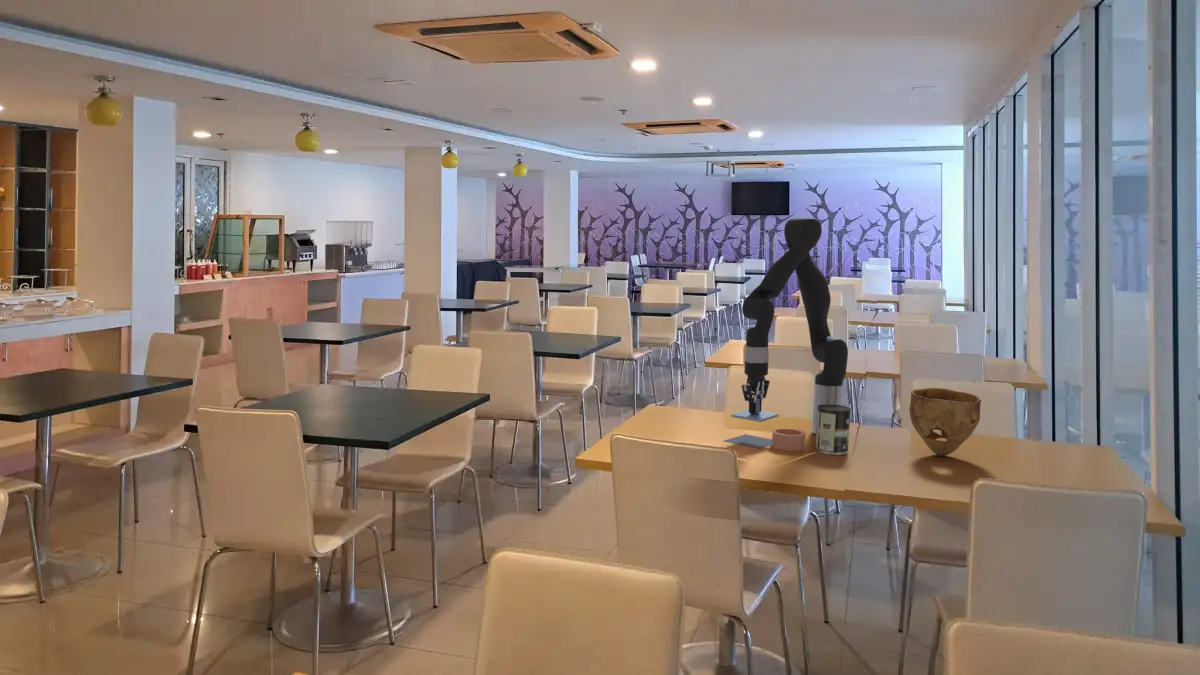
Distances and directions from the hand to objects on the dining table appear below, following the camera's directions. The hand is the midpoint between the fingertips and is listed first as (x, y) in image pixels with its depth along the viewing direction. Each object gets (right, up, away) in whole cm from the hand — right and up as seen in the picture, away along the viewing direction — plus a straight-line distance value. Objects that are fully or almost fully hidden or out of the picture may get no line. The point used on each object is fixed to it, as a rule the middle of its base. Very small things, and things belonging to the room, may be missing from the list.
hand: (754, 412), depth 302 cm
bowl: (+57, -13, -9) cm, 59 cm away
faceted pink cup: (+10, -11, -5) cm, 16 cm away
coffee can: (+23, -12, -6) cm, 27 cm away
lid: (0, -1, 0) cm, 1 cm away
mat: (-1, -10, +1) cm, 10 cm away
